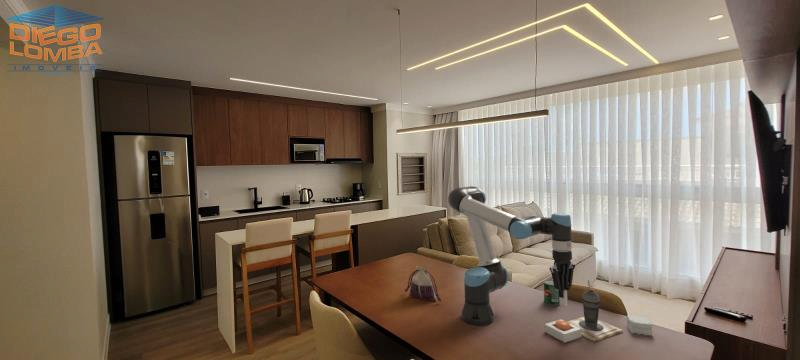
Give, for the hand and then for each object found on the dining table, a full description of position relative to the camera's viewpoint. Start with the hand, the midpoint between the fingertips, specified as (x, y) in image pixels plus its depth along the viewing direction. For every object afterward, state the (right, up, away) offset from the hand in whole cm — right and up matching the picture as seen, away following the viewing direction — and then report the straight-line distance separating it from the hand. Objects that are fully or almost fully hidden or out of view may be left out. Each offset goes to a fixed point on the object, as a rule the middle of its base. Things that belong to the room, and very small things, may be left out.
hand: (563, 304), depth 142 cm
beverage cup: (+15, -11, +5) cm, 19 cm away
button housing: (0, -13, +1) cm, 13 cm away
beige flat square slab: (+15, -13, +5) cm, 20 cm away
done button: (0, -10, +1) cm, 10 cm away
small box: (+34, -13, +2) cm, 36 cm away
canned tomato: (+11, -12, +34) cm, 37 cm away
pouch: (-57, -14, +44) cm, 74 cm away
